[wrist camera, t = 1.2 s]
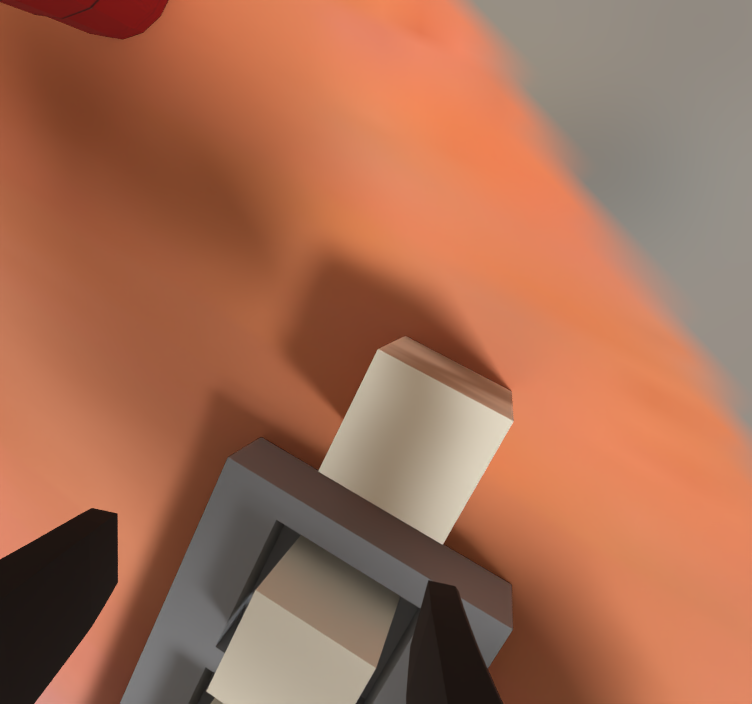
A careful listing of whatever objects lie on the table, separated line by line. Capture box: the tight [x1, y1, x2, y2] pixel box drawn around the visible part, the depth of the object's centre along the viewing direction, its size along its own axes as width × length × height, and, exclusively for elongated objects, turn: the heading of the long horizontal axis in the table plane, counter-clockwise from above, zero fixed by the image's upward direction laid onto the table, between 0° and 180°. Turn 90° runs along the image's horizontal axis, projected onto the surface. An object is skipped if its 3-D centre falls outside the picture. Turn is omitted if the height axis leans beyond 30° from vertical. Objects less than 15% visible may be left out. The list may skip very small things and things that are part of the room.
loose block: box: [318, 336, 514, 545], centre depth 20 cm, size 5×5×5 cm
